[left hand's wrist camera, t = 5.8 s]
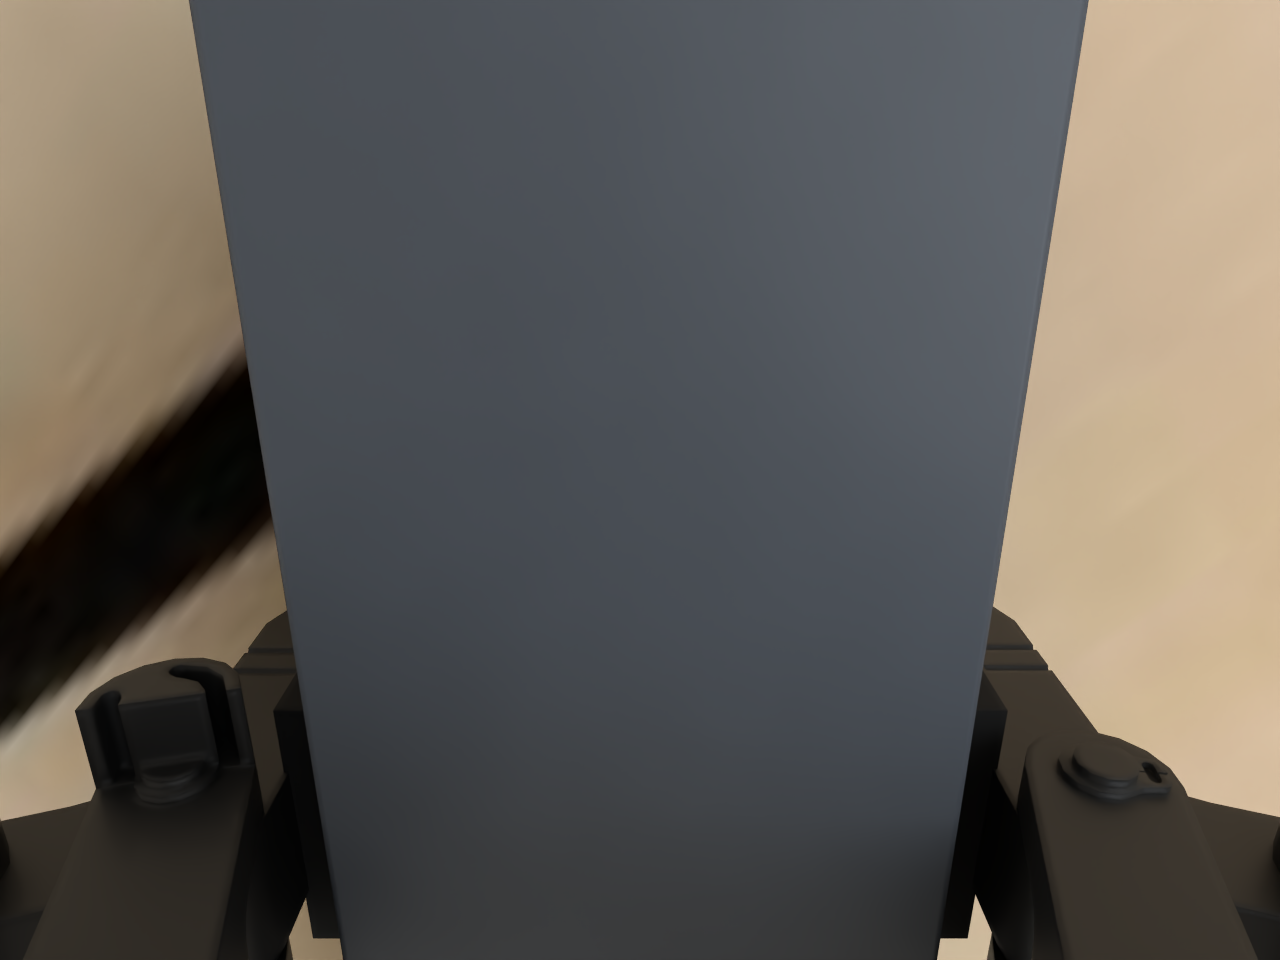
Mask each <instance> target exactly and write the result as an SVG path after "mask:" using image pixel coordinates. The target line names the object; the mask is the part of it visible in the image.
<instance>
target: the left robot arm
mask: <svg viewBox="0 0 1280 960" xmlns="http://www.w3.org/2000/svg"><path fill="white" fill-rule="evenodd" d="M248 649H249V651H248V653H245V654H244V655H243V656H242V658H241V659H240V660H239V662H238V663H237V664H236V666H235V667H234V668H231V667H230V666H229V665H228V664H226V663H224V662H219V661H215V660H210V659H206V658H184V659H172V660H167V661H163V662H158V663H153V664H149V665H144V666H142V667H139V668H137V669H134V670H132V671H129V672H127V673H124V674H122V675H119V676H117V677H114V678H113V679H111V680H110V681H108V682H107V683H105V684H103V685H102V686H100V687H99V688H97V689H96V690H94V691H93V692H91V693H90V694H89V695H88V696H87V697H86V698H85V700H84V701H83V702H82V703H81V704H80V705H79V707H78V708H77V709H76V710H75V713H76V716H77V720H78V724H79V727H80V731H81V735H82V738H83V742H84V746H85V749H86V753H87V757H88V761H89V764H90V768H91V772H92V775H93V779H94V783H95V786H96V790H95V793H94V795H93V797H92V800H91V801H89V802H85V803H82V804H78V805H74V806H71V807H66V808H61V809H57V810H52V811H47V812H42V813H38V814H33V815H28V816H23V817H19V818H14V819H9V820H4V821H1V820H0V960H293V957H292V951H291V946H290V941H289V935H290V933H291V931H292V928H293V926H294V924H295V921H296V919H297V917H298V914H299V912H300V910H301V907H302V905H303V903H304V900H305V898H306V900H307V906H308V912H309V917H310V923H311V929H312V934H313V938H340V936H339V930H338V924H337V917H336V911H335V905H334V899H333V893H332V886H331V880H330V874H329V868H328V861H327V855H326V849H325V843H324V837H323V830H322V824H321V818H320V812H319V805H318V799H317V793H316V787H315V781H314V774H313V768H312V762H311V756H310V749H309V743H308V737H307V731H306V725H305V718H304V712H303V706H302V700H301V694H300V687H299V681H298V675H297V669H296V662H295V656H294V650H293V644H292V638H291V631H290V625H289V619H288V613H287V611H285V612H284V613H282V614H281V615H279V616H278V617H276V618H275V619H273V620H272V621H270V622H269V623H267V624H266V625H265V627H264V628H263V629H262V631H261V632H260V633H259V635H258V636H257V637H256V639H255V640H254V641H253V643H252V644H251V645H250V647H249V648H248ZM975 894H976V897H977V899H978V901H979V904H980V906H981V908H982V910H983V913H984V915H985V917H986V920H987V922H988V924H989V927H990V929H991V931H992V935H991V941H990V946H989V951H988V956H987V960H1280V817H1276V816H1271V815H1266V814H1262V813H1257V812H1252V811H1247V810H1242V809H1238V808H1233V807H1228V806H1223V805H1219V804H1214V803H1210V802H1206V801H1202V800H1199V799H1195V798H1191V797H1188V796H1187V793H1186V791H1185V789H1184V787H1183V785H1182V784H1181V783H1180V781H1179V780H1178V779H1177V777H1176V776H1175V774H1174V773H1173V772H1172V770H1171V769H1170V768H1169V767H1168V766H1166V765H1165V764H1163V763H1162V762H1161V761H1159V760H1158V759H1157V758H1155V757H1154V756H1153V755H1151V754H1150V753H1149V752H1147V751H1145V750H1143V749H1141V748H1139V747H1137V746H1135V745H1132V744H1130V743H1128V742H1126V741H1124V740H1121V739H1119V738H1116V737H1112V736H1108V735H1104V734H1100V733H1098V732H1097V731H1096V729H1095V728H1094V727H1093V725H1092V724H1091V722H1090V721H1089V720H1088V718H1087V717H1086V716H1085V714H1084V713H1083V712H1082V710H1081V709H1080V708H1079V706H1078V705H1077V704H1076V702H1075V701H1074V700H1073V698H1072V697H1071V696H1070V694H1069V693H1068V692H1067V690H1066V689H1065V688H1064V686H1063V685H1062V684H1061V682H1060V681H1059V680H1058V678H1057V677H1056V676H1055V674H1054V673H1053V671H1048V665H1047V663H1046V662H1045V661H1044V659H1043V658H1042V657H1041V655H1040V654H1039V653H1038V651H1037V650H1033V645H1032V643H1031V642H1030V641H1029V639H1028V638H1027V637H1026V635H1025V634H1024V633H1023V631H1022V630H1021V629H1020V627H1019V626H1018V624H1017V623H1016V622H1015V621H1014V620H1013V619H1011V618H1010V617H1008V616H1007V615H1005V614H1004V613H1002V612H1000V611H999V610H997V609H996V608H994V607H993V608H992V614H991V621H990V627H989V633H988V640H987V646H986V652H985V659H984V665H983V671H982V677H981V684H980V690H979V696H978V703H977V709H976V715H975V722H974V728H973V734H972V741H971V747H970V753H969V760H968V766H967V772H966V779H965V785H964V791H963V798H962V804H961V810H960V817H959V823H958V829H957V836H956V842H955V848H954V855H953V861H952V867H951V874H950V880H949V886H948V893H947V899H946V905H945V911H944V918H943V924H942V930H941V937H940V938H968V933H969V927H970V921H971V916H972V910H973V905H974V899H975Z"/></svg>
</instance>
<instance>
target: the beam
mask: <svg viewBox="0 0 1280 960" xmlns="http://www.w3.org/2000/svg"><path fill="white" fill-rule="evenodd" d="M1088 1H1089V0H189V3H190V9H191V16H192V22H193V28H194V34H195V40H196V47H197V53H198V59H199V65H200V72H201V78H202V84H203V90H204V96H205V103H206V109H207V115H208V121H209V128H210V134H211V140H212V146H213V152H214V159H215V165H216V171H217V177H218V183H219V190H220V196H221V202H222V208H223V215H224V221H225V227H226V233H227V239H228V246H229V252H230V258H231V264H232V271H233V277H234V283H235V289H236V295H237V302H238V308H239V314H240V320H241V327H242V333H243V339H244V345H245V351H246V358H247V364H248V370H249V376H250V383H251V389H252V395H253V401H254V407H255V414H256V420H257V426H258V432H259V438H260V445H261V451H262V457H263V463H264V470H265V476H266V482H267V488H268V494H269V501H270V507H271V513H272V519H273V526H274V532H275V538H276V544H277V550H278V557H279V563H280V569H281V575H282V582H283V588H284V594H285V600H286V606H287V613H288V619H289V625H290V631H291V638H292V644H293V650H294V656H295V662H296V669H297V675H298V681H299V687H300V694H301V700H302V706H303V712H304V718H305V725H306V731H307V737H308V743H309V749H310V756H311V762H312V768H313V774H314V781H315V787H316V793H317V799H318V805H319V812H320V818H321V824H322V830H323V837H324V843H325V849H326V855H327V861H328V868H329V874H330V880H331V886H332V893H333V899H334V905H335V911H336V917H337V924H338V930H339V936H340V942H341V949H342V955H343V960H937V956H938V949H939V943H940V937H941V930H942V924H943V918H944V911H945V905H946V899H947V893H948V886H949V880H950V874H951V867H952V861H953V855H954V848H955V842H956V836H957V829H958V823H959V817H960V810H961V804H962V798H963V791H964V785H965V779H966V772H967V766H968V760H969V753H970V747H971V741H972V734H973V728H974V722H975V715H976V709H977V703H978V696H979V690H980V684H981V677H982V671H983V665H984V659H985V652H986V646H987V640H988V633H989V627H990V621H991V614H992V608H993V602H994V595H995V589H996V583H997V576H998V570H999V564H1000V557H1001V551H1002V545H1003V538H1004V532H1005V526H1006V519H1007V513H1008V507H1009V500H1010V494H1011V488H1012V481H1013V475H1014V469H1015V462H1016V456H1017V450H1018V443H1019V437H1020V431H1021V424H1022V418H1023V412H1024V406H1025V399H1026V393H1027V387H1028V380H1029V374H1030V368H1031V361H1032V355H1033V349H1034V342H1035V336H1036V330H1037V323H1038V317H1039V311H1040V304H1041V298H1042V292H1043V285H1044V279H1045V273H1046V266H1047V260H1048V254H1049V247H1050V241H1051V235H1052V228H1053V222H1054V216H1055V209H1056V203H1057V197H1058V190H1059V184H1060V178H1061V171H1062V165H1063V159H1064V153H1065V146H1066V140H1067V134H1068V127H1069V121H1070V115H1071V108H1072V102H1073V96H1074V89H1075V83H1076V77H1077V70H1078V64H1079V58H1080V51H1081V45H1082V39H1083V32H1084V26H1085V20H1086V13H1087V7H1088Z"/></svg>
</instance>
